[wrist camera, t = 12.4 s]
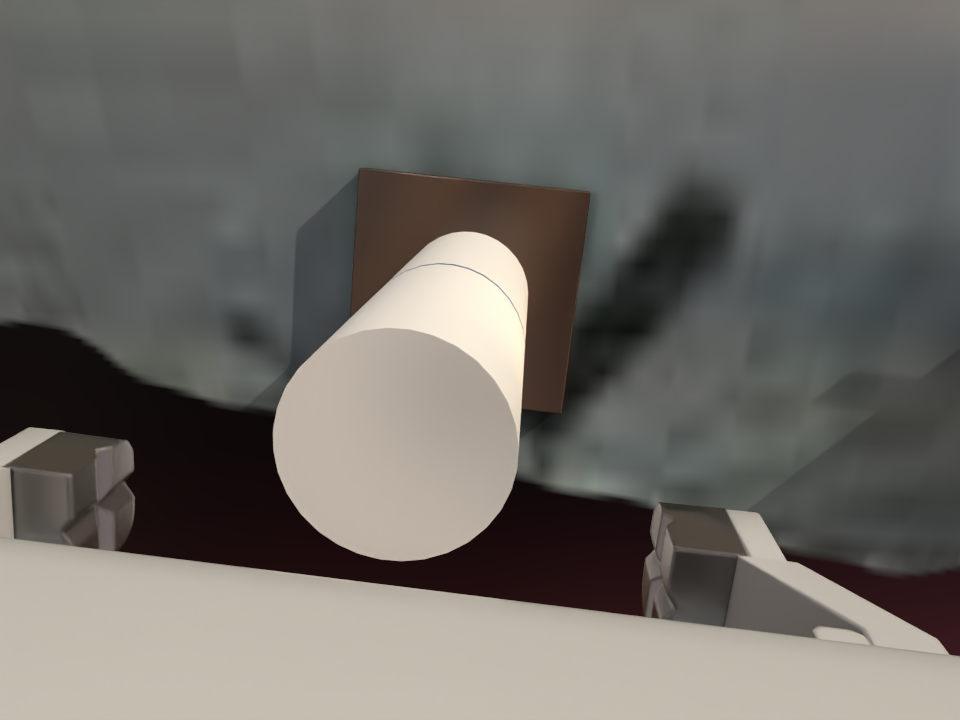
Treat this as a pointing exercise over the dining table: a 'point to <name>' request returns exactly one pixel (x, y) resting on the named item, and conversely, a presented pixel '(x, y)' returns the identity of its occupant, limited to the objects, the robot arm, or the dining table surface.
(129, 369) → the dining table surface
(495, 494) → the cylindrical container
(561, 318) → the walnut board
